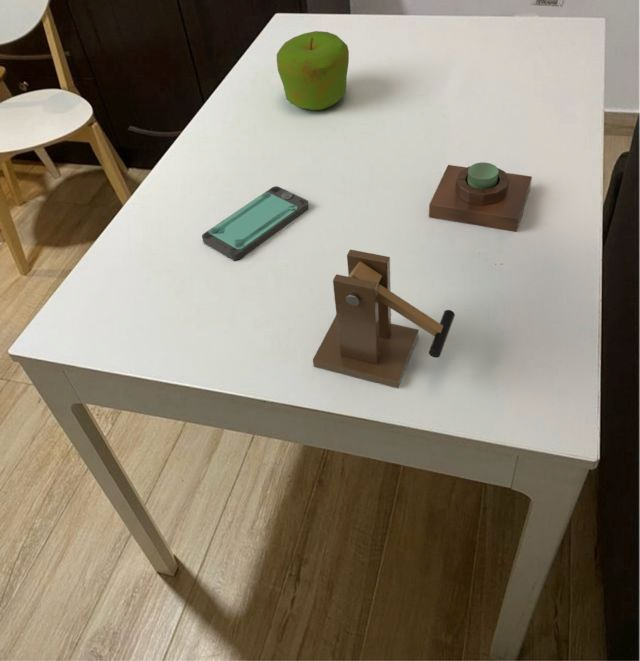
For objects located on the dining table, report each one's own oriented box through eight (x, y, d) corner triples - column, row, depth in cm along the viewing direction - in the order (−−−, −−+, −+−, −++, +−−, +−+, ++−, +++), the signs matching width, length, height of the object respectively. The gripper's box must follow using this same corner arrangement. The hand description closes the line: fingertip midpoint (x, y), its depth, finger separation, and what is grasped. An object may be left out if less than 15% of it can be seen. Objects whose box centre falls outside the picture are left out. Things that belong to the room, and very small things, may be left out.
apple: (297, 82, 122) (289, 20, 114) (360, 86, 119) (356, 23, 111) (272, 116, 115) (262, 52, 106) (339, 122, 111) (334, 56, 103)
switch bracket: (418, 336, 76) (420, 252, 67) (397, 388, 72) (397, 305, 62) (338, 318, 80) (330, 235, 70) (313, 366, 75) (300, 284, 65)
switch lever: (447, 322, 71) (460, 311, 69) (432, 362, 68) (445, 351, 66) (356, 261, 70) (366, 249, 68) (335, 299, 67) (345, 287, 65)
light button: (500, 175, 90) (501, 164, 89) (493, 191, 88) (495, 180, 87) (471, 171, 92) (472, 160, 90) (464, 187, 89) (465, 176, 88)
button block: (529, 189, 94) (534, 165, 91) (516, 231, 88) (520, 207, 85) (447, 177, 97) (448, 153, 95) (428, 217, 91) (429, 193, 88)
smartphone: (310, 200, 95) (233, 254, 88) (310, 207, 95) (235, 262, 88) (274, 183, 98) (198, 234, 91) (275, 190, 99) (200, 241, 92)
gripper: (436, -167, 53) (431, 10, 63) (717, -173, 47) (661, 25, 57) (456, -184, 57) (447, -15, 67) (718, -192, 51) (665, -3, 61)
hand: (547, 4), depth 62 cm, fingers closed
